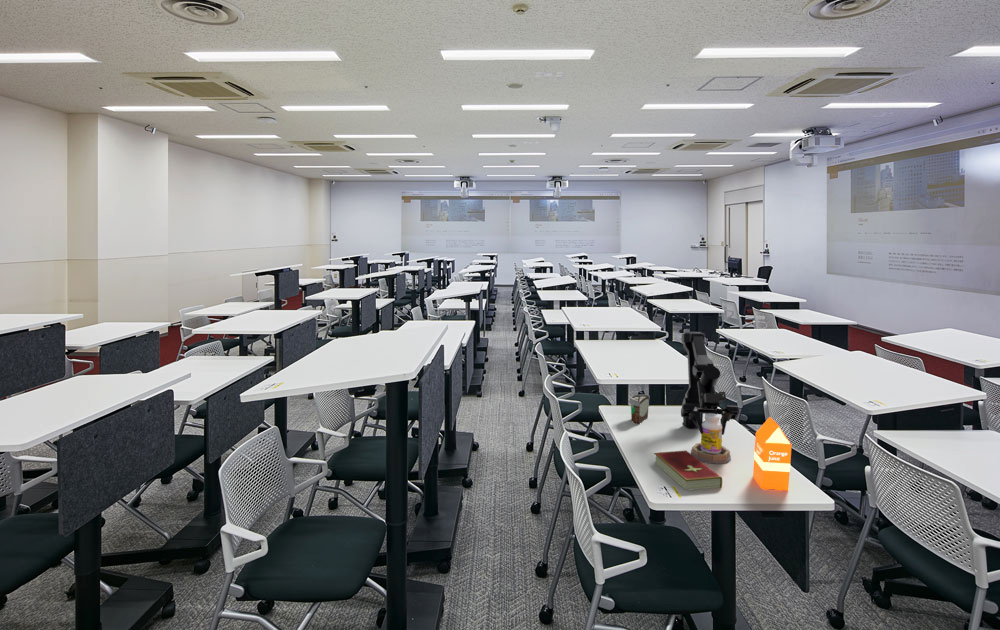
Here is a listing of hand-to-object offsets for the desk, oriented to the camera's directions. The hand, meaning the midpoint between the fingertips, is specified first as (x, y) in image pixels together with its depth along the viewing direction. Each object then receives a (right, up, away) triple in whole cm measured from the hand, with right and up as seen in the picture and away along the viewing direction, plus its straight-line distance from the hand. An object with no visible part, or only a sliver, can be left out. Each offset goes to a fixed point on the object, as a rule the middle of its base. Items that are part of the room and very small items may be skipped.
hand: (712, 433), depth 183 cm
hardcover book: (-13, -11, -12) cm, 21 cm away
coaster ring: (0, -8, +2) cm, 9 cm away
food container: (-16, -3, +41) cm, 44 cm away
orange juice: (+10, -11, -19) cm, 24 cm away
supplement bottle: (0, -7, +2) cm, 7 cm away
